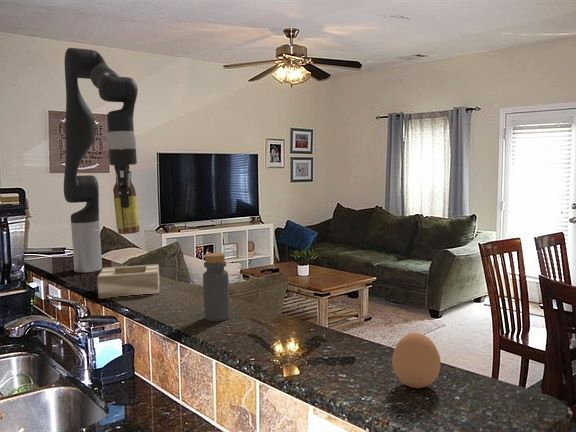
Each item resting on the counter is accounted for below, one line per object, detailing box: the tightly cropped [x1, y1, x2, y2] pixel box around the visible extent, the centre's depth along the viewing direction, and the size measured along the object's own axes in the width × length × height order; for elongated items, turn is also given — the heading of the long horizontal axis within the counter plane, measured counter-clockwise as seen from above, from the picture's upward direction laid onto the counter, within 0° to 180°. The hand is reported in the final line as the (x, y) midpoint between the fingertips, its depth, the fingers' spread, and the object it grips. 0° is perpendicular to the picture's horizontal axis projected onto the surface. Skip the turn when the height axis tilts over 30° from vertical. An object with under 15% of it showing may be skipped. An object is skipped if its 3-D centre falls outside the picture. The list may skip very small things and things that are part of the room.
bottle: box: [202, 252, 231, 322], centre depth 125 cm, size 6×6×15 cm
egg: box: [391, 332, 441, 389], centre depth 84 cm, size 7×7×8 cm
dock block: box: [96, 263, 161, 300], centre depth 156 cm, size 14×16×6 cm
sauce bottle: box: [112, 165, 140, 235], centre depth 154 cm, size 6×6×20 cm
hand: (126, 206), depth 154 cm, fingers closed on sauce bottle, 6 cm apart
